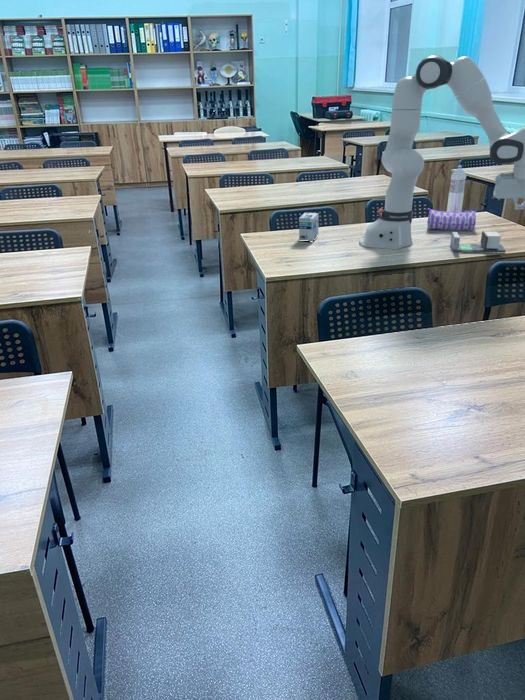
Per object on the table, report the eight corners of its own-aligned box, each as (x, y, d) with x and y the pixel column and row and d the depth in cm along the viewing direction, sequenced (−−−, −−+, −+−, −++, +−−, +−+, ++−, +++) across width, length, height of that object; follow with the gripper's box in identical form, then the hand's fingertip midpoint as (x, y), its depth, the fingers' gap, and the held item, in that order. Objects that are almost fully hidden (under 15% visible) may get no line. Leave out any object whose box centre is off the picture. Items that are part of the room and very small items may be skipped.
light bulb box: (313, 242, 231) (313, 218, 226) (298, 241, 233) (298, 217, 228) (318, 236, 240) (319, 212, 235) (304, 235, 242) (304, 212, 237)
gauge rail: (452, 252, 211) (454, 237, 208) (449, 246, 218) (451, 232, 215) (505, 253, 208) (508, 237, 205) (500, 247, 215) (503, 232, 212)
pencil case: (474, 227, 243) (477, 206, 239) (477, 232, 235) (480, 211, 231) (424, 226, 248) (427, 206, 243) (426, 232, 240) (428, 211, 235)
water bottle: (461, 220, 254) (468, 166, 242) (446, 220, 255) (453, 167, 244) (459, 217, 260) (466, 164, 248) (445, 217, 261) (451, 164, 250)
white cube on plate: (484, 249, 208) (486, 236, 206) (480, 243, 216) (482, 231, 213) (499, 249, 207) (501, 237, 205) (494, 243, 215) (496, 231, 212)
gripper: (498, 174, 196) (492, 211, 202) (557, 173, 192) (549, 211, 199) (494, 171, 201) (489, 208, 208) (551, 170, 198) (544, 207, 204)
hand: (519, 209), depth 203 cm, fingers closed
